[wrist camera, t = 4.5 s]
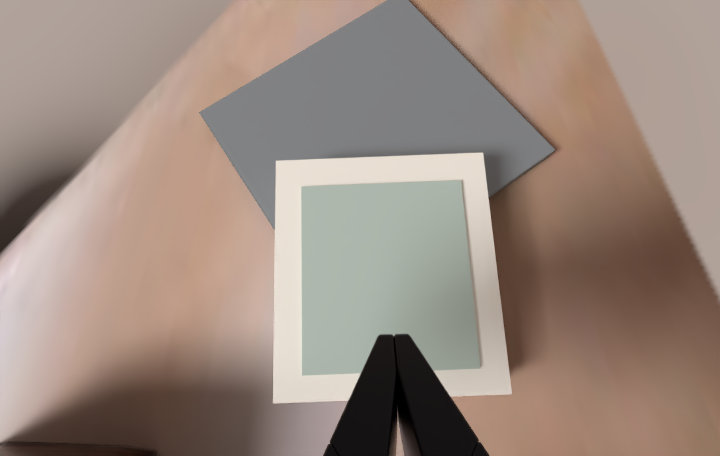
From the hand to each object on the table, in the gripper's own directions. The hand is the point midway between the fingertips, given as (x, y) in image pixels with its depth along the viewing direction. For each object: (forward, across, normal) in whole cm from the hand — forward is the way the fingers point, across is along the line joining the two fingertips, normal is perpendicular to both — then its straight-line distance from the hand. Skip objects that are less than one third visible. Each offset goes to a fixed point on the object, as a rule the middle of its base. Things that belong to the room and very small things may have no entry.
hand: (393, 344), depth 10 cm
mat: (+18, +1, -1) cm, 18 cm away
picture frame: (+14, 0, 0) cm, 14 cm away
